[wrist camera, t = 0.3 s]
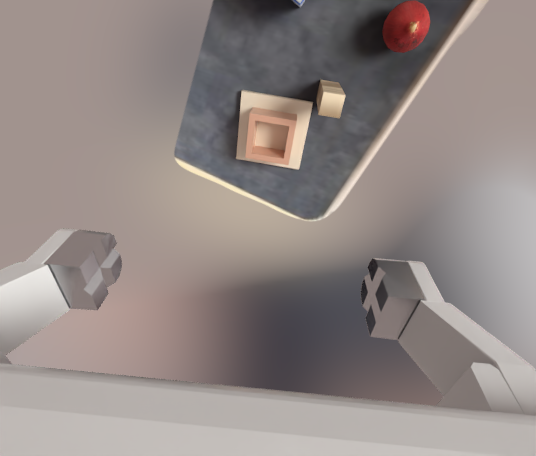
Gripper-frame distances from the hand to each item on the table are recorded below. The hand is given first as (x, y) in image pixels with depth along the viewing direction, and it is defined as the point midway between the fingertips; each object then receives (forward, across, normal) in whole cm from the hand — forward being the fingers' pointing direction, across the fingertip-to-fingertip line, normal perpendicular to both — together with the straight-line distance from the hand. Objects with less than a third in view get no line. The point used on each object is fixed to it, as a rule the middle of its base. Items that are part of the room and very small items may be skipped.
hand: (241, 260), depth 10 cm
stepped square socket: (+47, 0, +12) cm, 49 cm away
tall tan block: (+47, -8, +4) cm, 48 cm away
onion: (+47, -17, -5) cm, 50 cm away
